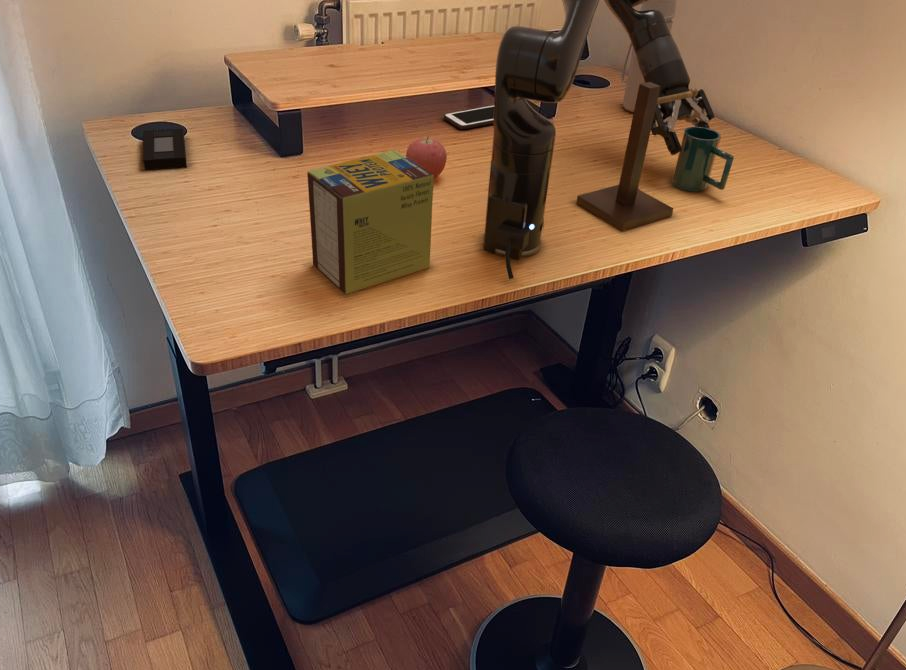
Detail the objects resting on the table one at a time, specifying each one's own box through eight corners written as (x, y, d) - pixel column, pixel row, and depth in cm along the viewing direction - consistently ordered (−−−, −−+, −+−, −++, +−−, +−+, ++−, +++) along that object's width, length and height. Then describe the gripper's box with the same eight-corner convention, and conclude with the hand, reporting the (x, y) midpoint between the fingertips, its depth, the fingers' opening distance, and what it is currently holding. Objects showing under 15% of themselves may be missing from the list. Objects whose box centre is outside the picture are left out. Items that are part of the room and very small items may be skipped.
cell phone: (441, 118, 171) (442, 114, 171) (497, 108, 178) (497, 104, 177) (461, 130, 166) (461, 126, 166) (517, 119, 172) (517, 115, 172)
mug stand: (622, 231, 134) (649, 102, 120) (576, 203, 142) (597, 79, 128) (694, 209, 142) (728, 85, 128) (647, 183, 150) (674, 64, 136)
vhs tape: (144, 170, 145) (142, 160, 144) (145, 140, 156) (143, 130, 154) (186, 167, 147) (185, 157, 145) (184, 138, 157) (182, 128, 156)
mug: (664, 181, 151) (677, 130, 145) (688, 174, 154) (701, 124, 147) (708, 204, 144) (723, 151, 138) (732, 197, 147) (748, 145, 140)
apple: (418, 166, 151) (419, 125, 146) (451, 176, 149) (454, 134, 144) (398, 180, 146) (398, 138, 141) (432, 190, 144) (434, 147, 139)
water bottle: (660, 109, 182) (686, -8, 166) (642, 117, 177) (667, -3, 161) (626, 99, 186) (649, -17, 171) (607, 106, 182) (629, -12, 166)
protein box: (431, 268, 122) (435, 173, 112) (345, 296, 115) (342, 198, 105) (394, 239, 129) (395, 148, 119) (310, 264, 121) (305, 169, 112)
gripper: (648, 62, 140) (680, 147, 140) (703, 52, 147) (733, 133, 147) (621, 83, 147) (652, 164, 147) (675, 73, 154) (704, 150, 153)
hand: (693, 149), depth 147 cm, fingers open, 8 cm apart
